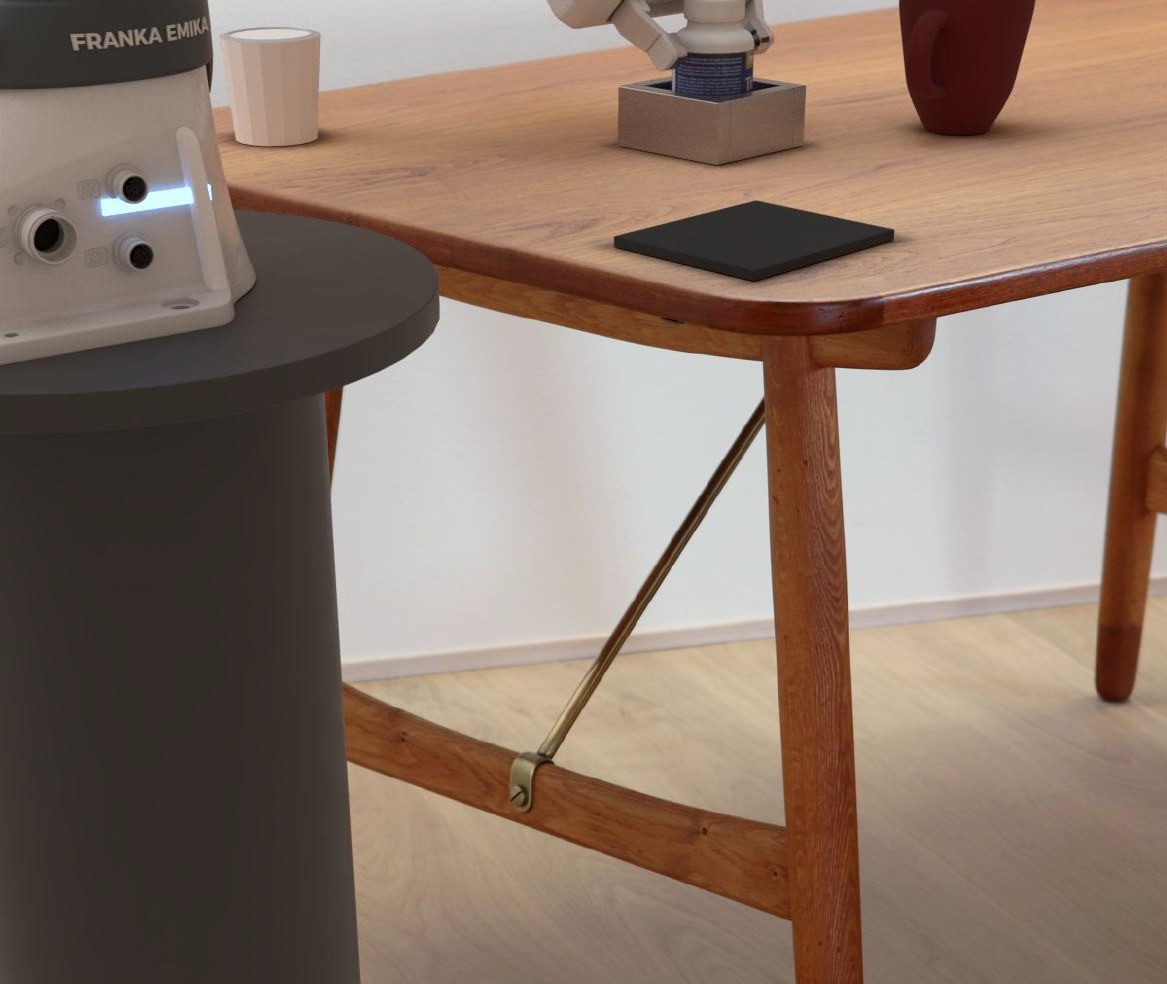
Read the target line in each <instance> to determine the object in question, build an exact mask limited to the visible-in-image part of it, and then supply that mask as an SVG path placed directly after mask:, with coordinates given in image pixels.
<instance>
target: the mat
mask: <svg viewBox="0 0 1167 984" xmlns="http://www.w3.org/2000/svg"><path fill="white" fill-rule="evenodd" d="M895 230H896V229H893V228H889V227H886V226H885V227H884V226H881V225H875V224H870V223H865V222H860V221H857V220H852V219H846V218H843V217H842V218H841V217H837V216H833V215H828V214H823V213H818V212H814V211H809V210H805V209H800V208H799V209H798V208H794V207H791V206H786V205H785V206H784V205H781V204H776V203H771V202H766V201H761V200H755V199H754V200H751V201H747V202H744V203H743V202H742V203H740V204H739V203H738V204H735V205H731V206H728V207H724V208H720V209H715V210H712V211H708V212H705V213H700V214H696V215H693V216H688V217H685V218H681V219H677V220H673V221H669V222H664V223H662V224H657V225H654V226H653V225H652V226H650V227H646V228H642V229H641V228H640V229H638V230H634V231H630V232H626V233H621V234H618V235H614V236H613V247H615V248H617V249H622V250H625V251H630V252H635V253H638V254H642V255H647V256H651V257H655V258H658V259H662V260H667V261H670V262H675V263H678V264H682V265H686V266H691V267H694V268H698V269H703V270H707V271H710V272H714V273H719V274H723V275H727V276H731V277H736V278H738V279H744V280H747V281H751V282H756V281H760V280H763V279H766V278H770V277H773V276H777V275H780V274H783V273H786V272H790V271H793V270H797V269H800V268H803V267H807V266H811V265H814V264H816V263H820V262H824V261H827V260H831V259H833V258H837V257H840V256H844V255H847V254H850V253H853V252H857V251H861V250H864V249H867V248H870V247H873V246H877V245H880V244H883V243H888V242H890V241H894V239H895Z"/></svg>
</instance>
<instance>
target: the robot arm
mask: <svg viewBox="0 0 1167 984" xmlns="http://www.w3.org/2000/svg"><path fill="white" fill-rule="evenodd" d="M546 2H547V5H548V6H549V8H550V9H551V11H552V13H553V15H554V16H555V17H556V19H558V20H559V21H560V22H562V23H563V24H564V25H566V26H567V27H569V28H571V29H572V30H580V29H587V28H592V27H600V26H606V25H607V26H608V25H614V27H615V29H616V31H617V32H618V33H619V35H620V36H621V37H623V38H624V39H626V40H627V41H628V42H630V43H631V44H632V45H634V46H635V47H636V48H638V49H639V50H641V51H642V52H643V53H646V54H647V56H648V57H649V59H650V61H651V62H652V64H653V66H654V67H655V68H656V70H657V71H658V72H665V71H672V69H677V68H678V67H679V66H680V65H681V63H682V62H683V61H685V59H686V58H687V55H688V54H687V49H686V47H685V46H684V45H683V44H681V39H680V38H679V36H678V35H677V32H667V31H666V30H665V29H664V28H663V27H662V26H661V25H660V24H659V23H657V22H656V21H655V20H654V19H655V18H659V17H668V16H674V15H681V14H683V10H684V0H546ZM764 14H765V12H764V3H763V0H745V15H744V19H742V20H741V27H742V28H744V29H746V30H747V31H749V32H750V33H751V35H752V36H753V39H754V56H758V55H763V54H766V52H767V51H768V50H769V49H770V48H771V47H772V45H773V44H774V42H775V35H774V32H772V30H771V28H770V27H769V24H767V22H766V21H765V15H764ZM211 25H212V24H211V16H210V9H209V0H0V365H5V364H11V363H17V362H22V361H28V360H34V359H39V358H45V357H50V356H56V355H62V354H67V353H73V352H79V351H84V350H90V349H95V348H101V347H107V346H112V345H118V344H124V343H129V342H135V341H141V340H146V339H152V338H157V337H163V336H169V335H174V334H180V333H186V332H191V331H197V330H202V329H208V328H214V327H219V326H222V325H226V324H228V323H230V322H231V321H232V320H233V319H234V317H235V309H234V304H235V302H236V301H237V300H238V299H239V298H241V297H242V296H243V295H244V294H246V293H247V292H248V291H249V290H250V289H251V288H252V287H253V286H254V284H255V282H256V274H255V271H254V269H253V266H252V264H251V262H250V259H249V257H248V254H247V251H246V248H245V246H244V243H243V240H242V237H241V234H240V231H239V228H238V224H237V221H236V218H235V214H234V211H233V210H234V208H233V207H234V206H233V204H232V199H231V195H230V191H229V188H228V183H227V179H226V175H225V170H224V165H223V161H222V156H221V152H220V147H219V141H218V136H217V131H216V126H215V125H216V124H215V120H214V113H213V107H212V101H211V93H212V92H211V91H212V83H213V72H214V47H213V36H212V26H211Z"/></svg>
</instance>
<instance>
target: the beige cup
mask: <svg viewBox="0 0 1167 984" xmlns="http://www.w3.org/2000/svg"><path fill="white" fill-rule="evenodd" d="M218 36H219V37H218V40H219V47H220V52H221V59H222V64H223V70H224V76H225V82H226V83H225V84H226V88H227V89H226V90H227V94H228V100H229V101H228V102H229V107H230V112H231V119H232V123H233V132H234V136H235V137H234V138H235V141H236V142H238V143H240V144H243V145H248V146H255V147H257V146H258V147H286V146H287V147H288V146H296V145H303V144H307V143H311V142H314V141H315V140H317V139H319V138H318V137H319V136H318V135H319V133H318V132H319V104H320V103H319V101H320V100H319V99H320V67H321V64H320V63H321V38H322V37H321V32H320V31H316V30H313V29H307V28H299V27H289V26H287V27H286V26H265V27H264V26H263V27H262V26H261V27H260V26H259V27H247V28H242V29H236V30H231V31H226V32H223V33H220V34H219V35H218Z"/></svg>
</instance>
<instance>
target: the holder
mask: <svg viewBox="0 0 1167 984" xmlns="http://www.w3.org/2000/svg"><path fill="white" fill-rule="evenodd" d="M617 91H618V93H617V94H618V96H617V97H618V99H617V100H618V101H617V106H618V107H617V109H618V110H617V128H618V129H617V146H619V147H622V148H628V149H633V150H637V151H642V152H648V153H653V154H657V155H662V156H668V157H672V158H678V159H683V160H688V161H691V162H692V161H693V162H698V163H702V164H708V165H714V166H720V165H725V164H728V163H734V162H737V161H742V160H747V159H751V158H754V157H759V156H764V155H768V154H772V153H777V152H782V151H785V150H790V149H794V148H795V149H796V148H799V147H803V146H804V144H805V143H804V141H805V119H806V101H807V99H806V98H807V85H805V84H800V83H793V82H787V81H782V80H781V81H780V80H774V79H769V78H763V77H762V78H760V77H755V76H753V90H752V92H747V93H742V94H737V95H732V96H726V97H721V98H712V97H706V96H700V95H694V94H688V93H682V92H677V91H672V75H671V76H666V77H659V78H655V79H649V80H643V81H637V82H632V83H627V84H621V85H618V90H617Z"/></svg>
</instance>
